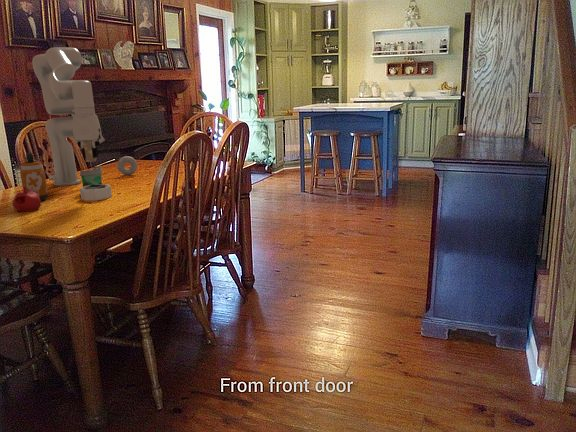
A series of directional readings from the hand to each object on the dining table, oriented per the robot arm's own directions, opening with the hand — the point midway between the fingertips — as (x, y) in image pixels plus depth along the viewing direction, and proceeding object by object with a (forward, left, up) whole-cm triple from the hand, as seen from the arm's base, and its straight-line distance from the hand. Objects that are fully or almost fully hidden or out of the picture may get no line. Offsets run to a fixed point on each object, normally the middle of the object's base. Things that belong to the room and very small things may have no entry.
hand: (91, 157), depth 204 cm
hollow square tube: (0, 0, -17) cm, 17 cm away
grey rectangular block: (0, 0, -2) cm, 2 cm away
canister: (-25, -3, -17) cm, 31 cm away
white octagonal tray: (0, 0, -17) cm, 17 cm away
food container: (-7, +14, -17) cm, 23 cm away
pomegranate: (-18, -20, -17) cm, 32 cm away
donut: (-8, +51, -17) cm, 54 cm away
